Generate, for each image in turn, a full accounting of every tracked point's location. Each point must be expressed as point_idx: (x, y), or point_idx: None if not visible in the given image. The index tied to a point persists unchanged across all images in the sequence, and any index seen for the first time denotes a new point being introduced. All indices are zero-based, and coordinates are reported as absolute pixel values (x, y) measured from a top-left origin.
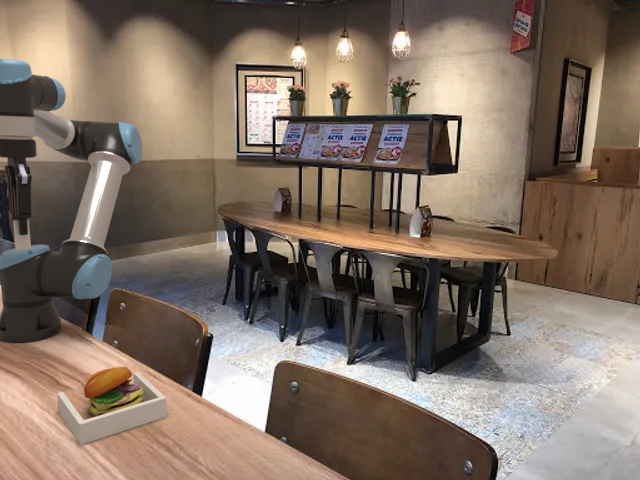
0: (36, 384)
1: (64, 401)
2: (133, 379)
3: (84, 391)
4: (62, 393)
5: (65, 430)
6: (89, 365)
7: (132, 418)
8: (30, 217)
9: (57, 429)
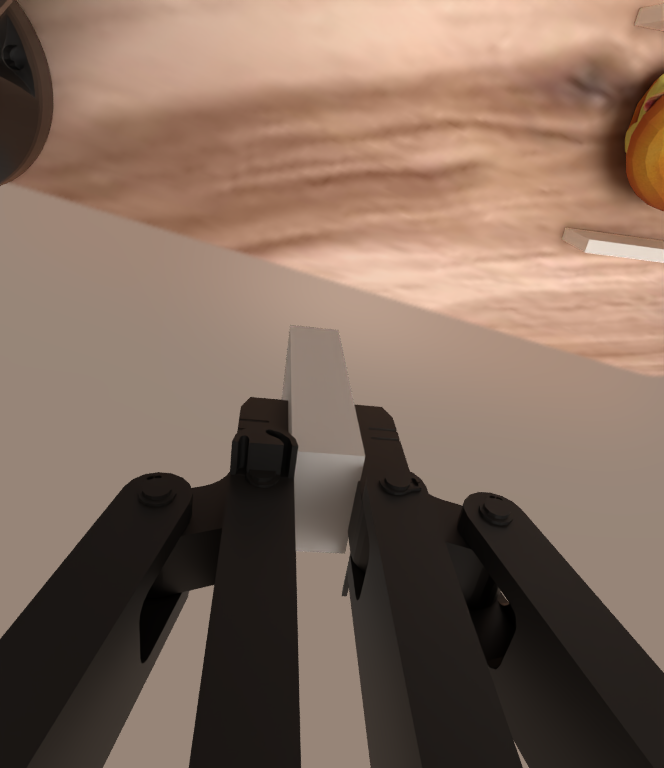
0: (388, 223)
1: (635, 256)
2: (655, 21)
3: (660, 209)
4: (597, 243)
5: None
6: (378, 42)
7: None
8: (497, 498)
9: (622, 269)
